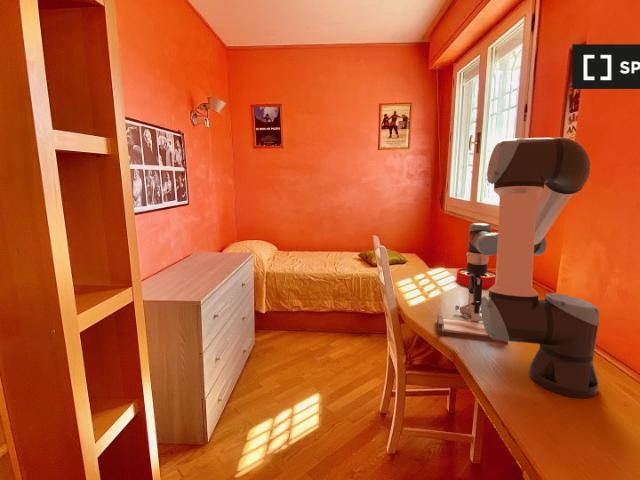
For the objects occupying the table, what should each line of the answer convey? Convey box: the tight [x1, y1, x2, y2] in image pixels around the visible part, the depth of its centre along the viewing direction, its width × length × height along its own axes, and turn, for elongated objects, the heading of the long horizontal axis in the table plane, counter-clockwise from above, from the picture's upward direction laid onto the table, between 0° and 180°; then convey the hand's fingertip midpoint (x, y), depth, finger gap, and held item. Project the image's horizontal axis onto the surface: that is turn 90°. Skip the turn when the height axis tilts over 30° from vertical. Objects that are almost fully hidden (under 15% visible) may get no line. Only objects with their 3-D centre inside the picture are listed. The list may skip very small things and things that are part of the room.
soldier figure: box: [454, 302, 482, 320], centre depth 135 cm, size 8×5×12 cm
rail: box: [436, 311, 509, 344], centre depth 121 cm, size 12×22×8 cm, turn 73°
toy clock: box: [455, 267, 496, 289], centre depth 181 cm, size 20×6×20 cm
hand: (473, 314), depth 137 cm, fingers open, 12 cm apart
